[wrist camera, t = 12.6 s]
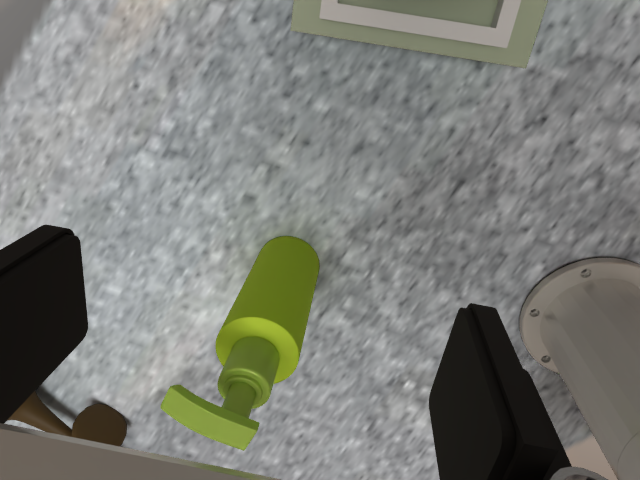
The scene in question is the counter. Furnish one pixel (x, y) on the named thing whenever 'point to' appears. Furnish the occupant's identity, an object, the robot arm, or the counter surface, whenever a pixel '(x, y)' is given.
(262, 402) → the soap dispenser
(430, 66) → the counter surface
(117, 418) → the kendama
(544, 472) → the robot arm
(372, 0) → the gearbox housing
